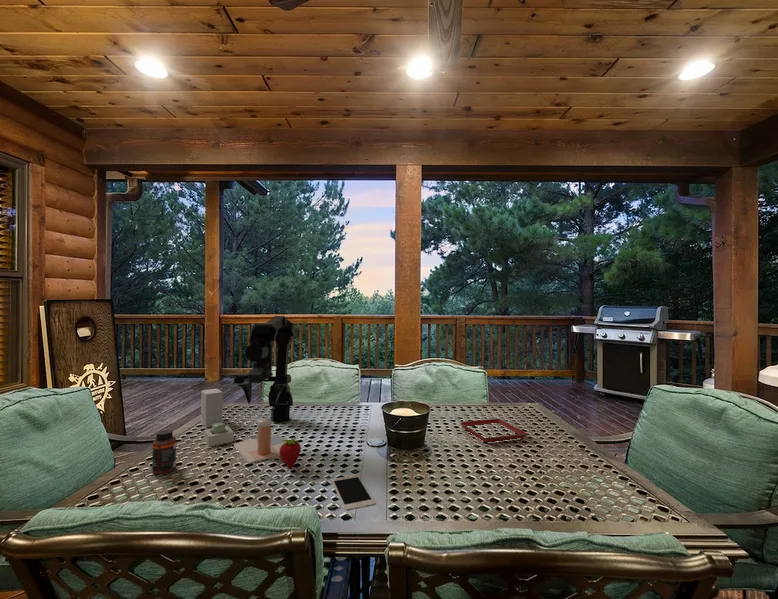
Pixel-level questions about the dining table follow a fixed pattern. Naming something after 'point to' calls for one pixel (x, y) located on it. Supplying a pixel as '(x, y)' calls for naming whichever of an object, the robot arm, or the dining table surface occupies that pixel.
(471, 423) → the red square frame
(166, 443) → the supplement bottle
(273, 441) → the sheet
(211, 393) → the small box
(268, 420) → the capped orange bottle
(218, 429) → the button
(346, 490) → the cell phone
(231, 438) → the button housing
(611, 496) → the dining table surface
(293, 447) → the decorative fruit
